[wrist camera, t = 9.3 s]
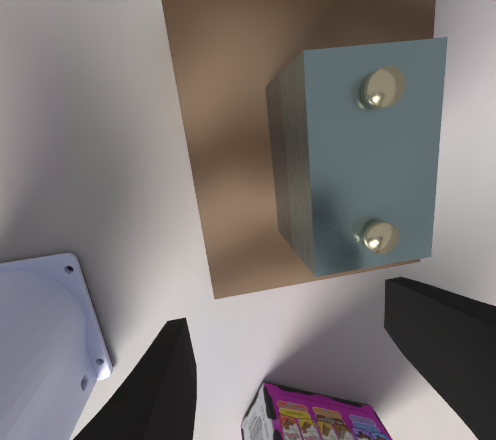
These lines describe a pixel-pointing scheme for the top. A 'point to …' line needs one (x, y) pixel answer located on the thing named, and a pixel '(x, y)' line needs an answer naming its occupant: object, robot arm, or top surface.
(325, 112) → the housing
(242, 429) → the candy bar box
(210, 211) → the stand
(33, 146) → the top surface
